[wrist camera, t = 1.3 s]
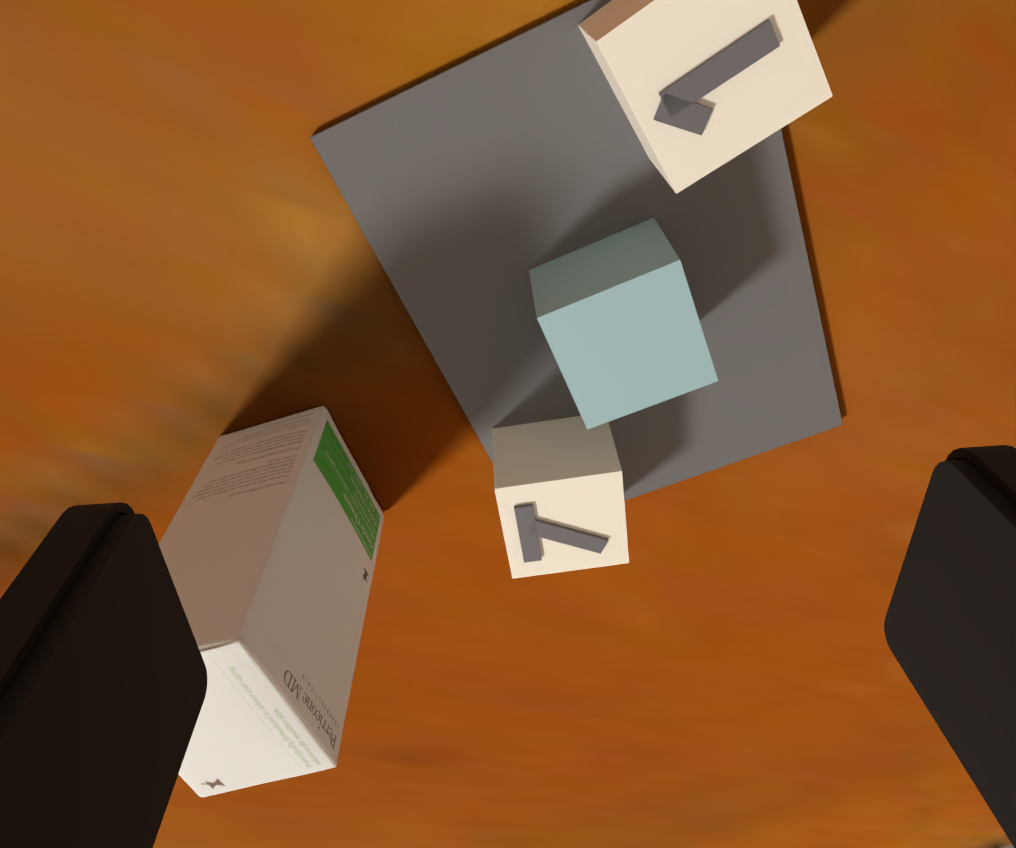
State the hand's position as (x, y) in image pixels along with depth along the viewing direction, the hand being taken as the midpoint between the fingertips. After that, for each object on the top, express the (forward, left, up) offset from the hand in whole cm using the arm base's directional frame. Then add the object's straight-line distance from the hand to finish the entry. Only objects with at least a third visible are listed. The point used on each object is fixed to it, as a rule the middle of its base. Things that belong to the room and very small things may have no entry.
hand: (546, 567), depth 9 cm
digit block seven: (+4, +18, -25) cm, 31 cm away
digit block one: (-8, +1, -25) cm, 27 cm away
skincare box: (+17, +13, -26) cm, 34 cm away
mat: (-2, +10, -26) cm, 28 cm away
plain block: (-2, +10, -25) cm, 27 cm away
